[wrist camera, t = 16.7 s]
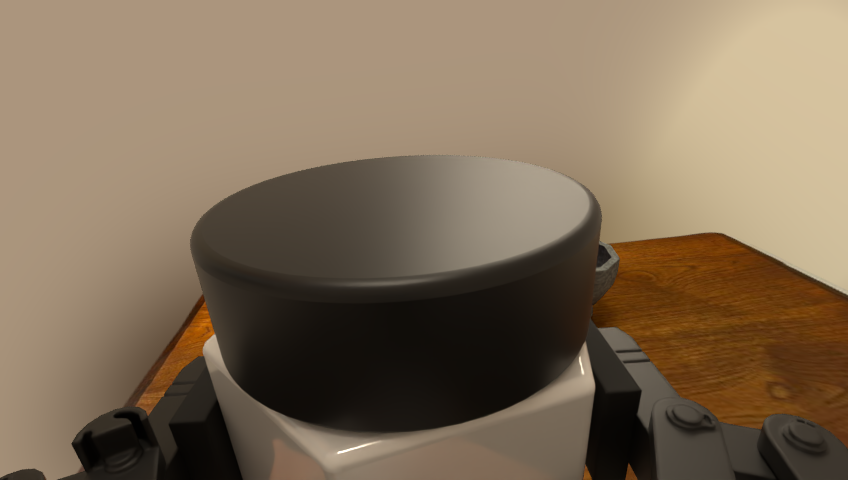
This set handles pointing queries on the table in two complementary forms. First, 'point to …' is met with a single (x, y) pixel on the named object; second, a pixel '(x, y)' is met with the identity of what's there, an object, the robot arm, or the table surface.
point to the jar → (403, 320)
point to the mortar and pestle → (604, 271)
